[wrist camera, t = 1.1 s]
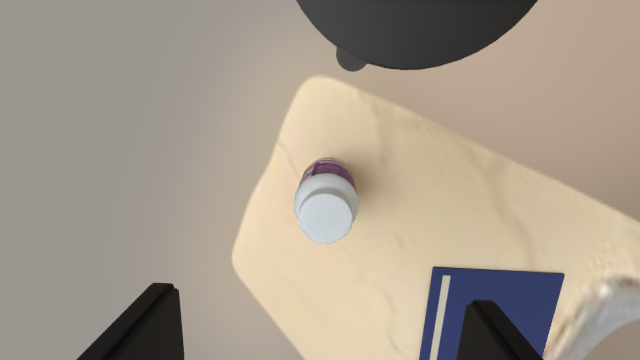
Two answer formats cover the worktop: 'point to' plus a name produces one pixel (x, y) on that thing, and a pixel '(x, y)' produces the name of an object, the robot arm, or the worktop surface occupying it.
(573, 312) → the worktop surface
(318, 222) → the pill bottle
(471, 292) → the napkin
